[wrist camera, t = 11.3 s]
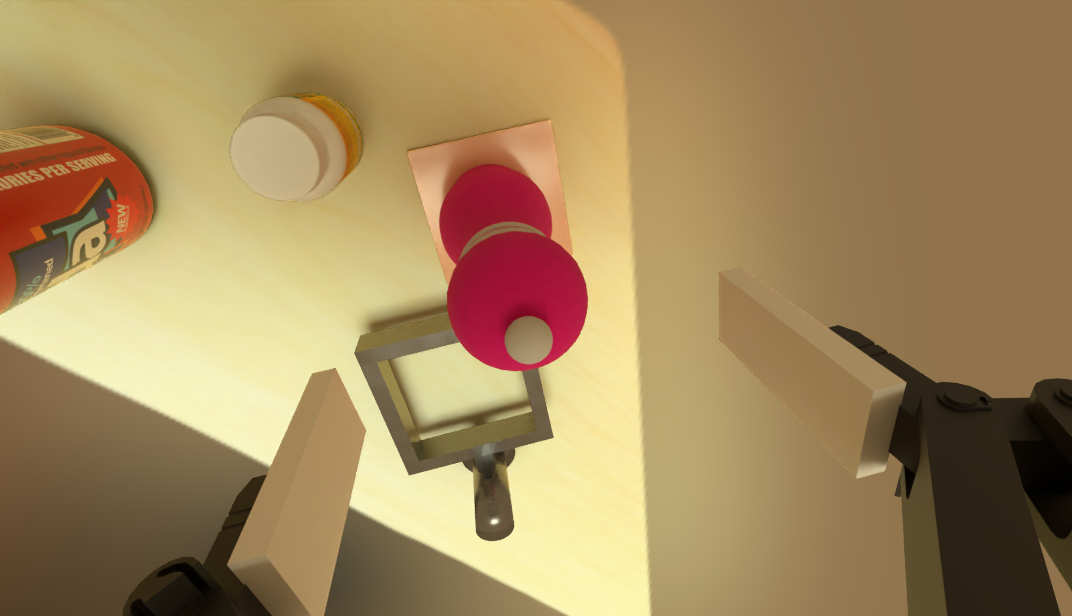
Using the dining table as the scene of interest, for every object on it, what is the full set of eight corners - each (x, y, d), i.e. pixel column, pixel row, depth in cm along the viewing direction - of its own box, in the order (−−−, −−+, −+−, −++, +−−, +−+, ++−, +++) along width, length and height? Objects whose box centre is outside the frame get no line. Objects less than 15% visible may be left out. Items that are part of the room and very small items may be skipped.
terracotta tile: (407, 151, 32) (406, 152, 32) (549, 119, 33) (550, 120, 32) (447, 281, 37) (447, 284, 36) (571, 251, 37) (572, 254, 37)
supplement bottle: (319, 193, 33) (271, 235, 24) (259, 122, 30) (183, 141, 22) (382, 150, 32) (357, 178, 23) (327, 74, 30) (276, 75, 21)
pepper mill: (541, 156, 33) (643, 251, 15) (539, 253, 36) (620, 424, 19) (437, 156, 32) (417, 259, 14) (444, 256, 35) (434, 441, 18)
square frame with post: (364, 322, 37) (340, 390, 29) (517, 286, 38) (533, 342, 30) (431, 482, 46) (427, 568, 38) (555, 449, 46) (576, 527, 38)
